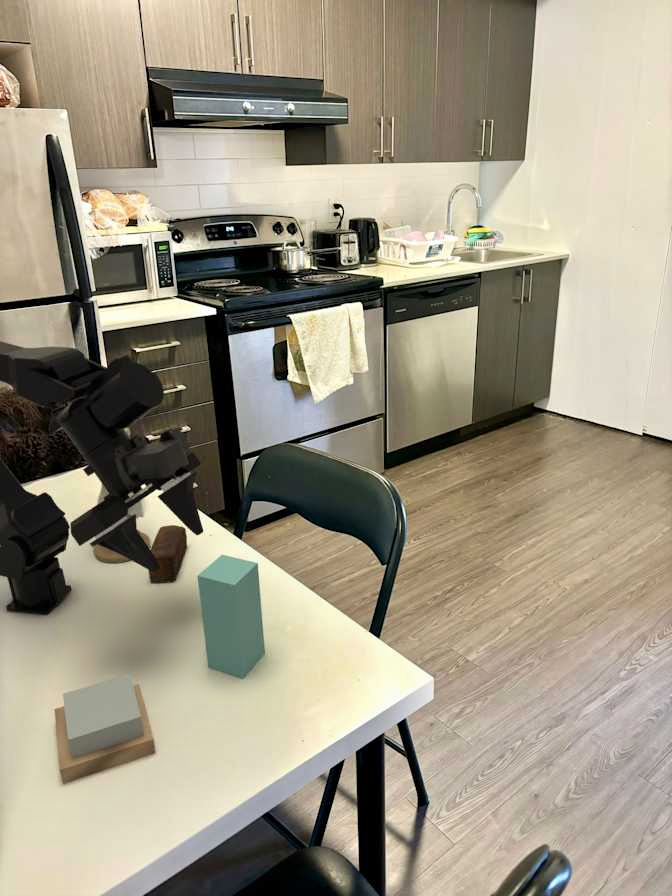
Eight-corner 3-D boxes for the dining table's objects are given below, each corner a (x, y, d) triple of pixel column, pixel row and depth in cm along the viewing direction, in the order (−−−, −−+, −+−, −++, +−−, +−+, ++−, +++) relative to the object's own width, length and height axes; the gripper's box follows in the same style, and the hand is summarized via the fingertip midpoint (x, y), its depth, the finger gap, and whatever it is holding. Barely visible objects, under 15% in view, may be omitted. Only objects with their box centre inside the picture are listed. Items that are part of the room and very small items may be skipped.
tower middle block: (72, 759, 67) (68, 739, 66) (66, 711, 73) (62, 693, 72) (144, 735, 70) (141, 716, 69) (133, 691, 76) (130, 673, 75)
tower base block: (64, 788, 67) (59, 770, 66) (58, 726, 74) (54, 709, 73) (156, 757, 70) (153, 738, 69) (141, 700, 78) (138, 683, 77)
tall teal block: (208, 667, 82) (197, 575, 77) (230, 643, 86) (221, 554, 81) (243, 678, 80) (234, 585, 75) (264, 653, 84) (257, 563, 79)
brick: (176, 583, 99) (173, 555, 98) (149, 584, 99) (145, 556, 98) (188, 547, 109) (185, 521, 108) (164, 548, 109) (160, 522, 107)
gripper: (90, 443, 69) (178, 567, 70) (192, 391, 85) (261, 493, 86) (32, 486, 74) (115, 601, 76) (138, 430, 90) (204, 526, 92)
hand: (179, 551), depth 82 cm, fingers open, 9 cm apart
